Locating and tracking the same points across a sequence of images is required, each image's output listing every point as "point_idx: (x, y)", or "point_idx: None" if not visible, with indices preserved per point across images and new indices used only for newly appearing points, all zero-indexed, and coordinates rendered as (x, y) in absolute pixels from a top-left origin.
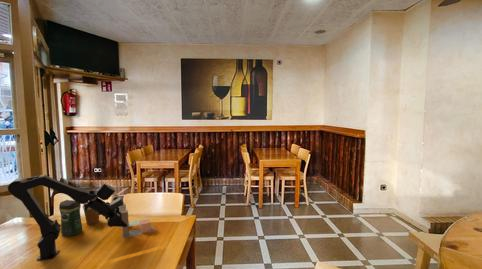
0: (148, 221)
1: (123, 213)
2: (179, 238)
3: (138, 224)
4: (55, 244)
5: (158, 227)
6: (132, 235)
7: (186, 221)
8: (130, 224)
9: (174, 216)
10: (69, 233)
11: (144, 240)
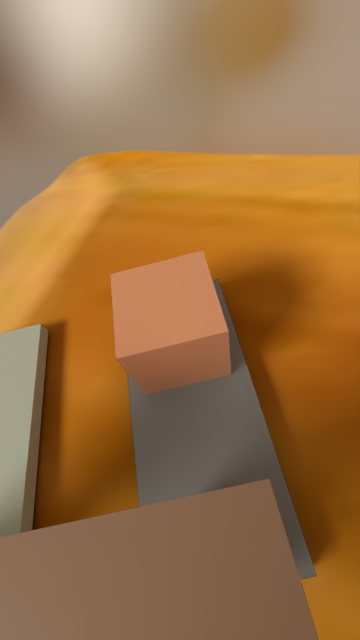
0: (173, 271)
1: None
2: (330, 171)
3: (29, 421)
4: None
5: None
6: (255, 460)
7: (131, 167)
8: None
9: (32, 217)
10: None
11: (330, 350)
